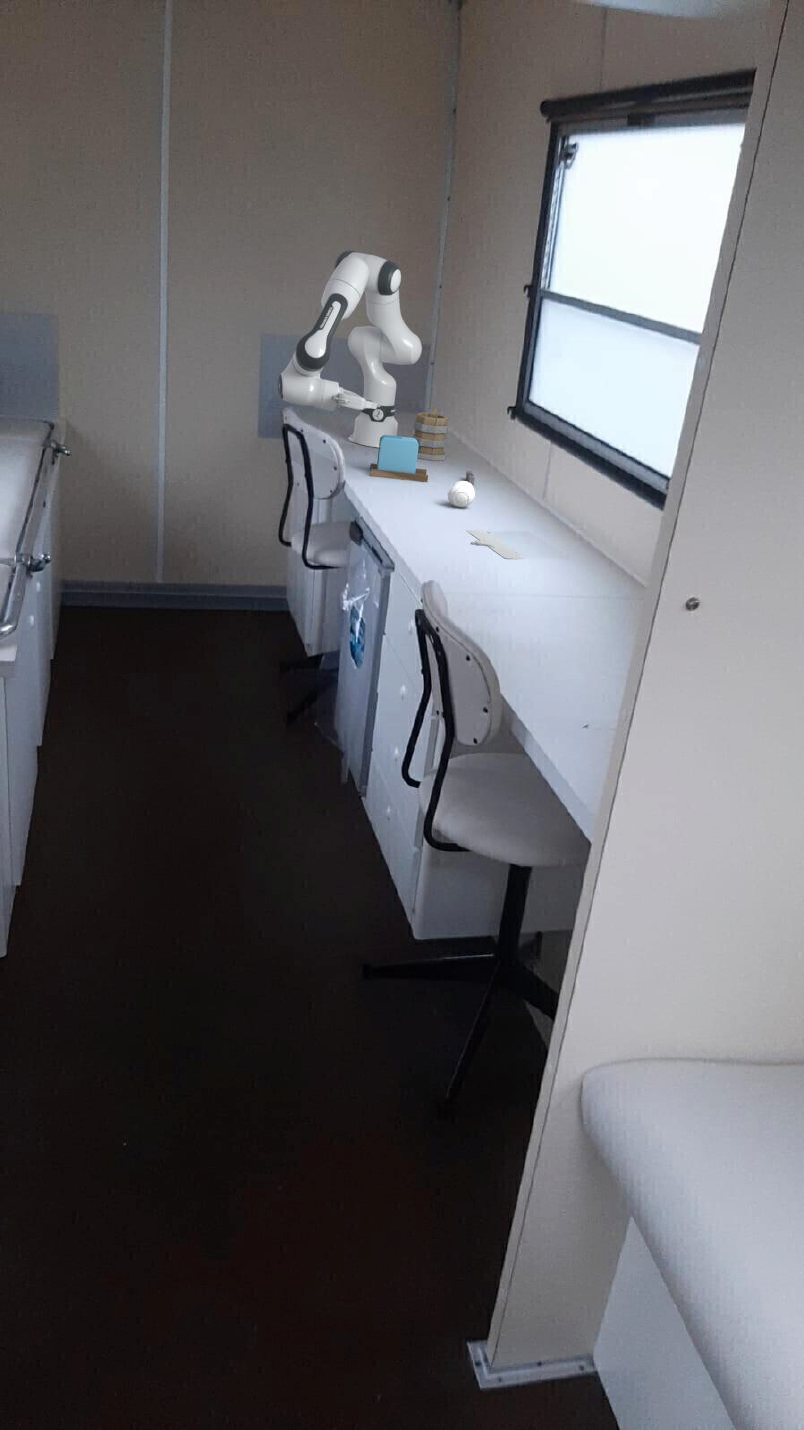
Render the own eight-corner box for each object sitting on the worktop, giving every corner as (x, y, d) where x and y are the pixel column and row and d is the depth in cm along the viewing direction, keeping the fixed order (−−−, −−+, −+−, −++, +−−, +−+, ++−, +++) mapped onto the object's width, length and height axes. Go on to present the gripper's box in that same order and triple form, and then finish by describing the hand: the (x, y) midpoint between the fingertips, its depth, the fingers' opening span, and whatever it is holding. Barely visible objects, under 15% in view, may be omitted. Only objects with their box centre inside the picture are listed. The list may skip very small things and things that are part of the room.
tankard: (442, 462, 385) (448, 418, 379) (406, 457, 386) (411, 412, 380) (449, 452, 403) (455, 409, 397) (415, 446, 405) (420, 404, 398)
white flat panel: (452, 531, 306) (453, 527, 306) (529, 534, 315) (529, 530, 315) (490, 560, 285) (491, 556, 285) (571, 562, 294) (572, 558, 294)
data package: (413, 475, 361) (418, 438, 356) (414, 479, 357) (419, 441, 352) (376, 472, 360) (380, 434, 355) (376, 475, 356) (381, 437, 351)
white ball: (454, 502, 336) (458, 476, 332) (477, 507, 332) (481, 481, 329) (441, 506, 329) (445, 479, 326) (464, 512, 326) (468, 485, 323)
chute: (370, 469, 362) (370, 459, 361) (470, 480, 365) (471, 471, 364) (370, 476, 353) (371, 466, 352) (473, 487, 356) (474, 478, 355)
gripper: (336, 388, 335) (381, 397, 338) (327, 382, 354) (370, 391, 357) (332, 409, 337) (377, 418, 340) (324, 403, 356) (366, 411, 359)
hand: (374, 404), depth 349 cm, fingers open, 8 cm apart
